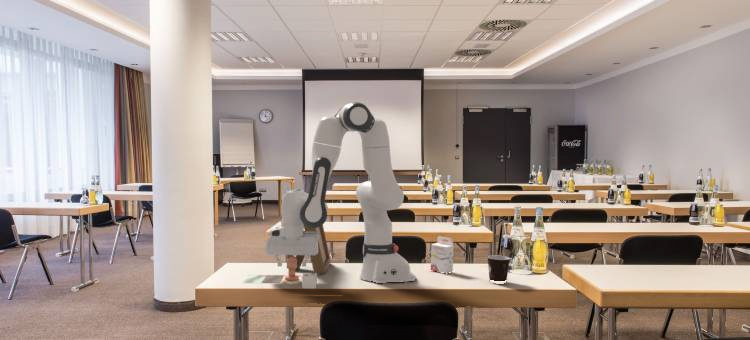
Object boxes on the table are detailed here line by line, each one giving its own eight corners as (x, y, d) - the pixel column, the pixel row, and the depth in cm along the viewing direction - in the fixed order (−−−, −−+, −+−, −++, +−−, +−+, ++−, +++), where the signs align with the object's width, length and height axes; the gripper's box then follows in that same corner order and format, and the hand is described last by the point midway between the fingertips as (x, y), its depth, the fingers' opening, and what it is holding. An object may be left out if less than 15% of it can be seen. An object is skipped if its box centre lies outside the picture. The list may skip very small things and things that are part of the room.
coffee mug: (488, 278, 204) (488, 254, 203) (509, 281, 201) (510, 256, 200) (484, 285, 193) (485, 260, 192) (507, 288, 190) (508, 262, 189)
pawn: (299, 277, 198) (299, 254, 197) (297, 280, 193) (298, 257, 192) (285, 277, 198) (286, 254, 197) (284, 280, 192) (284, 257, 192)
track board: (304, 276, 202) (304, 274, 202) (300, 285, 188) (300, 284, 188) (247, 275, 201) (247, 274, 201) (239, 284, 187) (239, 283, 187)
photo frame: (330, 263, 225) (331, 208, 224) (325, 275, 203) (325, 214, 202) (298, 262, 225) (298, 207, 224) (288, 274, 204) (289, 214, 203)
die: (316, 286, 188) (316, 272, 188) (315, 289, 183) (315, 276, 183) (303, 286, 188) (303, 272, 188) (302, 289, 183) (302, 276, 183)
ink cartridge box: (429, 271, 215) (430, 237, 214) (436, 269, 218) (437, 235, 218) (446, 274, 209) (447, 239, 208) (453, 272, 213) (454, 238, 212)
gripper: (319, 229, 198) (319, 264, 198) (267, 229, 197) (267, 264, 198) (318, 232, 192) (318, 268, 192) (264, 231, 191) (264, 267, 191)
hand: (291, 266), depth 195 cm, fingers open, 8 cm apart
